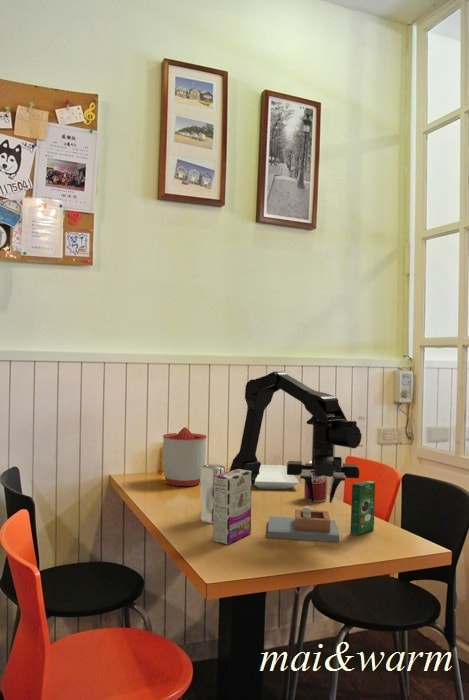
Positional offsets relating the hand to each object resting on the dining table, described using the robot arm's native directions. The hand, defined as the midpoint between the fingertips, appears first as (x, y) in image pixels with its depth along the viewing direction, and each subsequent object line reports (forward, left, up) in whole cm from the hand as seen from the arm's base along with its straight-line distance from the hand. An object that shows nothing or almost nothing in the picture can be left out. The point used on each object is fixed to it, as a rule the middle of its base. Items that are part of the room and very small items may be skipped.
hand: (321, 502), depth 153 cm
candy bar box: (-23, -9, -8) cm, 26 cm away
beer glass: (-30, +5, -8) cm, 31 cm away
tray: (-15, +60, -9) cm, 63 cm away
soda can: (0, +35, -8) cm, 36 cm away
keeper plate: (-5, 0, -8) cm, 9 cm away
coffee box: (+11, +3, -8) cm, 14 cm away
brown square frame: (-2, 0, -6) cm, 7 cm away
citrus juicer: (-46, +49, -8) cm, 68 cm away
